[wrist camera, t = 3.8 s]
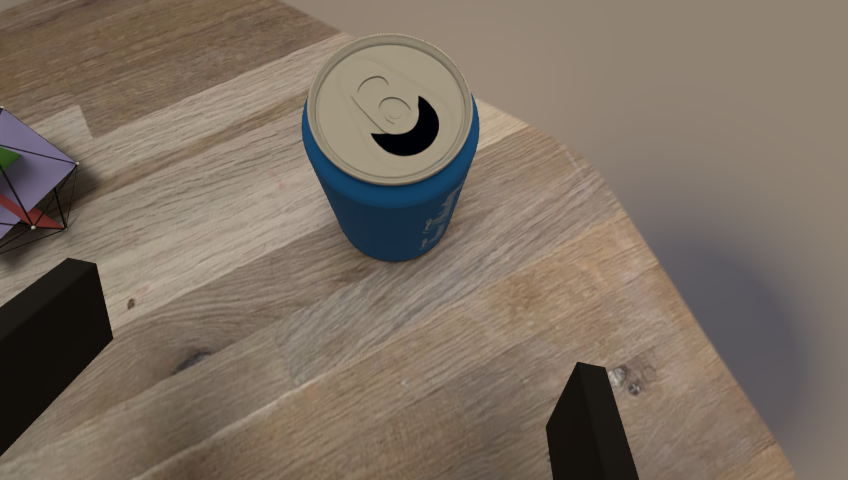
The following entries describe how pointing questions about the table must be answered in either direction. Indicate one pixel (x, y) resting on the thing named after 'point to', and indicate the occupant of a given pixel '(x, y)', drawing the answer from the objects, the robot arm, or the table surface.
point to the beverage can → (391, 141)
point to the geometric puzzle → (28, 176)
